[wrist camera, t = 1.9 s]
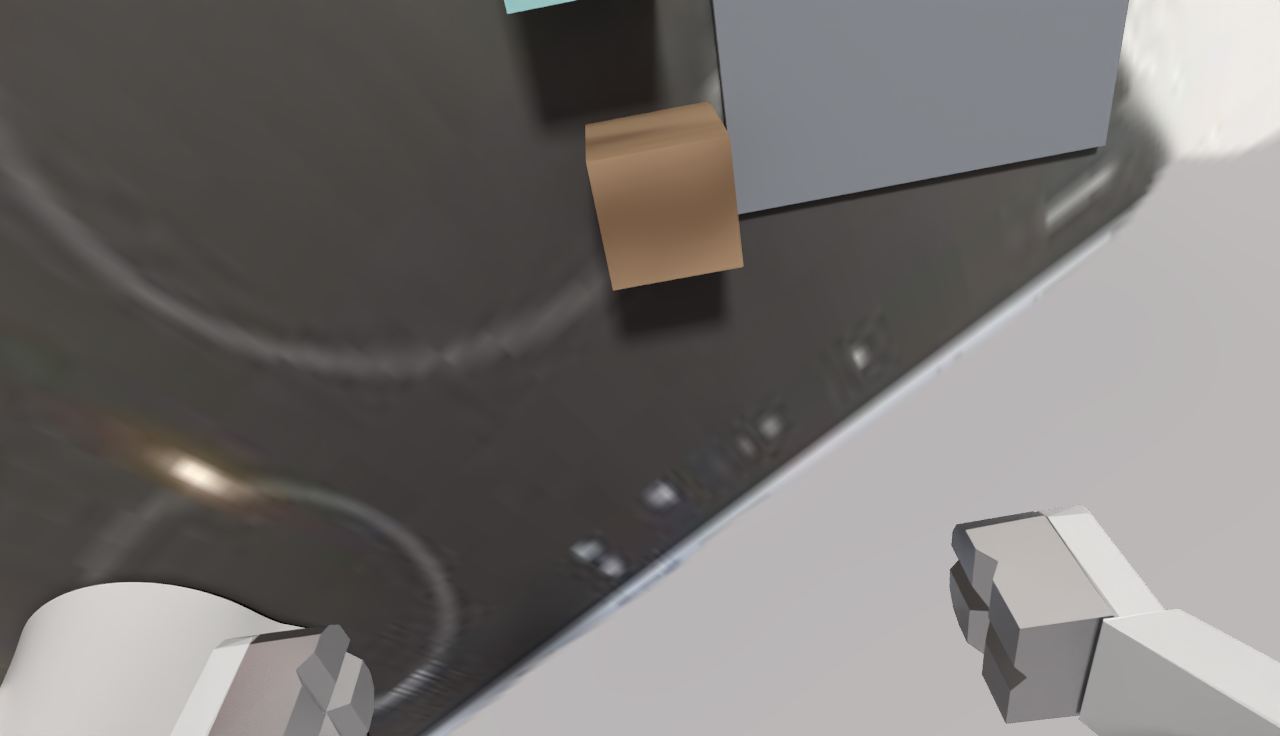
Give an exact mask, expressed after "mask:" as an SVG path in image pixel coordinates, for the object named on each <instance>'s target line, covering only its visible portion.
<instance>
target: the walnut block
mask: <svg viewBox="0 0 1280 736" xmlns="http://www.w3.org/2000/svg"><path fill="white" fill-rule="evenodd" d="M585 139H586V165H587V169H588V174H589V179H590V184H591V188H592V193H593V198H594V203H595V207H596V212H597V217H598V222H599V226H600V231H601V236H602V240H603V245H604V250H605V255H606V259H607V264H608V269H609V274H610V278H611V283H612V288H613V291H614V290H619V289H625V288H630V287H636V286H641V285H646V284H652V283H657V282H663V281H668V280H674V279H679V278H685V277H690V276H696V275H701V274H706V273H712V272H717V271H723V270H728V269H734V268H739V267H743V258H742V248H741V239H740V229H739V219H738V210H737V200H736V190H735V181H734V171H733V162H732V152H731V142H730V135H729V133H728V131H727V130H726V128H725V126H724V125H723V123H722V122H721V120H720V118H719V117H718V115H717V113H716V112H715V110H714V108H713V107H712V105H711V103H710V102H709V101H707V102H701V103H696V104H691V105H686V106H681V107H675V108H670V109H665V110H660V111H654V112H649V113H644V114H639V115H633V116H628V117H623V118H618V119H612V120H607V121H602V122H597V123H592V124H586V125H585Z"/></svg>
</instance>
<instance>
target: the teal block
mask: <svg viewBox="0 0 1280 736" xmlns="http://www.w3.org/2000/svg"><path fill="white" fill-rule="evenodd" d="M570 1H575V0H504V2H505V6H506V10H507V14H510V13H515V12H520V11H525V10H530V9H535V8H540V7H545V6H550V5H555V4H560V3H565V2H570Z"/></svg>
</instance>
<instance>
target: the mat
mask: <svg viewBox="0 0 1280 736" xmlns="http://www.w3.org/2000/svg"><path fill="white" fill-rule="evenodd" d="M1128 3H1129V0H712V9H713V19H714V28H715V37H716V46H717V55H718V64H719V74H720V83H721V92H722V101H723V110H724V119H725V128H726V130H727V131H728V133H729V135H730V142H731V152H732V162H733V171H734V181H735V190H736V200H737V210H738V214H743V213H748V212H753V211H759V210H764V209H769V208H775V207H780V206H785V205H791V204H796V203H801V202H807V201H812V200H817V199H823V198H828V197H833V196H839V195H844V194H849V193H855V192H860V191H865V190H870V189H876V188H881V187H886V186H892V185H897V184H902V183H908V182H913V181H918V180H924V179H929V178H934V177H940V176H945V175H950V174H956V173H961V172H966V171H972V170H977V169H982V168H988V167H993V166H998V165H1003V164H1009V163H1014V162H1019V161H1025V160H1030V159H1035V158H1041V157H1046V156H1051V155H1057V154H1062V153H1067V152H1073V151H1078V150H1083V149H1089V148H1094V147H1099V146H1105V144H1106V138H1107V132H1108V125H1109V119H1110V113H1111V107H1112V101H1113V95H1114V89H1115V83H1116V76H1117V70H1118V64H1119V58H1120V52H1121V46H1122V40H1123V34H1124V27H1125V21H1126V15H1127V9H1128Z"/></svg>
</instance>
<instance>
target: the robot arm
mask: <svg viewBox="0 0 1280 736" xmlns="http://www.w3.org/2000/svg"><path fill="white" fill-rule="evenodd" d="M952 547H953V549H954V551H955V553H956V555H957V557H958V559H959V560H958V561H957V563H956V564H955V565H954V566H953V567H952V568H951V569H950V592H951V598H952V603H953V608H954V611H955V614H956V617H957V620H958V623H959V626H960V628H961V630H962V632H963V634H964V637H965V639H966V641H967V643H969V644H970V645H972V646H973V647H974V648H976V649H977V650H979V651H981V652H982V653H983V654H984V659H983V670H982V675H983V677H984V679H985V681H986V683H987V685H988V687H989V690H990V692H991V694H992V696H993V698H994V700H995V702H996V704H997V706H998V708H999V710H1000V712H1001V714H1002V716H1003V718H1004V721H1005V722H1006V724H1007V723H1016V722H1024V721H1034V720H1042V719H1051V718H1060V717H1069V716H1078V715H1079V720H1080V721H1081V722H1083V723H1084V724H1085V725H1087V726H1088V727H1089V728H1090V729H1091V730H1092V731H1094V732H1095V733H1096V734H1098V735H1099V736H1280V663H1279V662H1278V661H1276V660H1274V659H1272V658H1270V657H1268V656H1266V655H1265V654H1263V653H1261V652H1259V651H1257V650H1255V649H1254V648H1252V647H1250V646H1248V645H1246V644H1244V643H1242V642H1240V641H1239V640H1237V639H1235V638H1233V637H1231V636H1229V635H1228V634H1226V633H1224V632H1222V631H1220V630H1218V629H1216V628H1214V627H1213V626H1211V625H1209V624H1207V623H1205V622H1203V621H1201V620H1199V619H1198V618H1196V617H1194V616H1192V615H1190V614H1188V613H1187V612H1185V611H1183V610H1181V609H1179V608H1176V609H1166V610H1165V609H1164V607H1163V606H1162V605H1161V604H1160V602H1159V601H1158V600H1157V599H1156V597H1155V596H1154V595H1153V593H1152V592H1151V591H1150V589H1149V588H1148V587H1147V585H1146V584H1145V583H1144V582H1143V580H1142V579H1141V578H1140V576H1139V575H1138V574H1137V573H1136V571H1135V570H1134V569H1133V567H1132V566H1131V565H1130V563H1129V562H1128V561H1127V560H1126V558H1125V557H1124V556H1123V555H1122V553H1121V552H1120V550H1119V549H1118V548H1117V547H1116V545H1115V544H1114V543H1113V541H1112V540H1111V539H1110V537H1109V536H1108V535H1107V534H1106V532H1105V531H1104V530H1103V528H1102V527H1101V526H1100V524H1099V523H1098V522H1097V521H1096V519H1095V518H1094V517H1093V515H1092V514H1091V513H1090V512H1089V510H1088V509H1086V508H1084V507H1082V506H1081V505H1074V506H1068V507H1061V508H1055V509H1049V510H1043V511H1038V512H1027V513H1021V514H1015V515H1010V516H1004V517H998V518H992V519H986V520H981V521H974V522H969V523H963V524H957V525H956V526H955V528H954V530H953V535H952ZM349 641H350V639H349V638H348V636H347V635H346V634H345V632H344V631H343V629H342V628H341V627H340V625H326V626H319V627H311V628H303V627H298V626H293V625H287V624H282V623H279V622H276V621H273V620H271V619H268V618H266V617H264V616H262V615H260V614H258V613H256V612H254V611H251V610H249V609H247V608H245V607H243V606H241V605H239V604H237V603H234V602H232V601H229V600H227V599H224V598H221V597H218V596H215V595H212V594H209V593H206V592H202V591H199V590H194V589H190V588H185V587H180V586H174V585H167V584H159V583H145V582H121V583H108V584H101V585H94V586H90V587H85V588H81V589H78V590H74V591H71V592H68V593H66V594H63V595H61V596H59V597H57V598H55V599H53V600H51V601H49V602H48V603H46V604H45V605H43V606H42V607H41V608H40V609H38V610H37V611H36V612H35V613H34V614H33V615H32V616H31V617H30V619H29V620H28V621H27V623H26V625H25V626H24V629H23V631H22V634H21V637H20V640H19V643H18V646H17V649H16V652H15V654H14V657H13V659H12V662H11V664H10V667H9V669H8V671H7V674H6V676H5V678H4V681H3V683H2V685H1V687H0V736H367V732H368V731H369V727H370V723H371V719H372V715H373V711H374V685H373V682H372V678H371V674H370V671H369V670H368V668H367V666H366V665H365V663H364V661H363V660H361V659H359V658H357V657H355V656H353V655H351V654H349V653H347V652H346V651H347V647H348V644H349Z"/></svg>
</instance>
